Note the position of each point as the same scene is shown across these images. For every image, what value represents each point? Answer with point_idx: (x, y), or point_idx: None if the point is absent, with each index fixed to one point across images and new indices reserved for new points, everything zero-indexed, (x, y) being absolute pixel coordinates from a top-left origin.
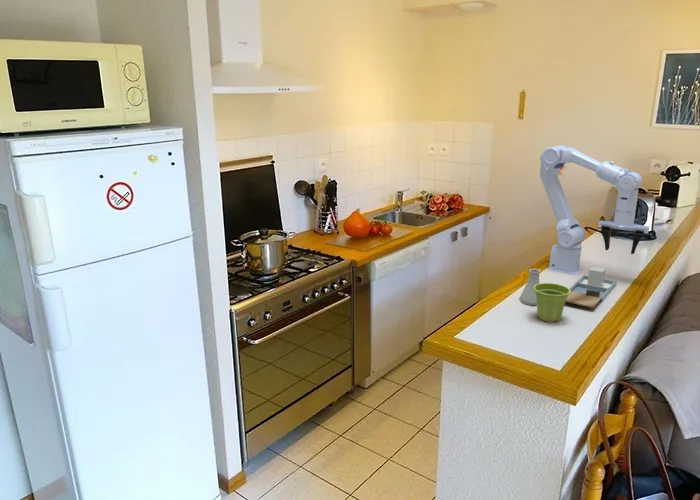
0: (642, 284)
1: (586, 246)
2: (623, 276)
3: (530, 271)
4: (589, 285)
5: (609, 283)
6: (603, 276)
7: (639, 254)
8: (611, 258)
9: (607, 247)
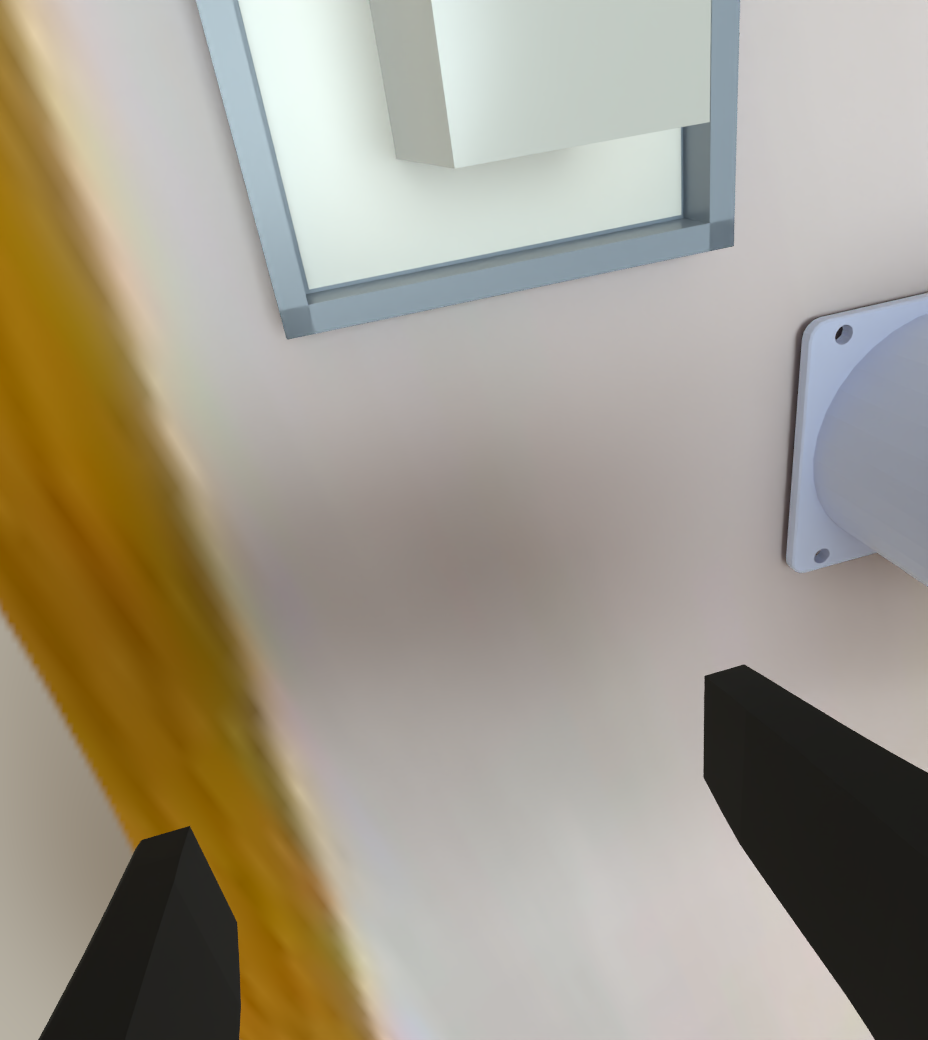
0: (100, 628)
1: (863, 1028)
2: (388, 700)
3: None
4: None
5: (364, 286)
6: (407, 26)
7: None
8: (652, 979)
9: (748, 708)
